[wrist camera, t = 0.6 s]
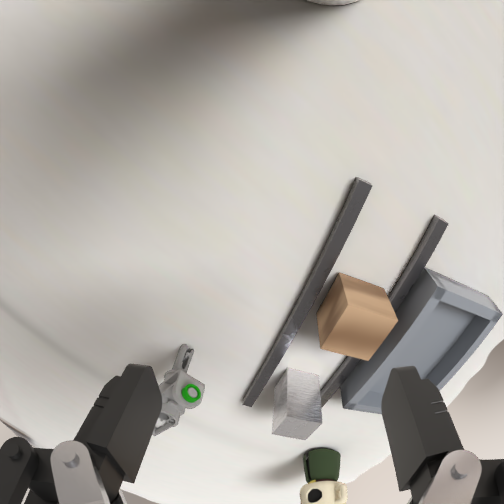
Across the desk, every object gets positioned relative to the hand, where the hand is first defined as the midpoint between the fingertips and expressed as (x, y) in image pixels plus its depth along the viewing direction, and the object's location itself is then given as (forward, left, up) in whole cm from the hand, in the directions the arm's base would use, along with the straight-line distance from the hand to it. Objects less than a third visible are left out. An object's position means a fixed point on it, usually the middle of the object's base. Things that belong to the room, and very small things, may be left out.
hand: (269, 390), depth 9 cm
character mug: (+36, +22, -19) cm, 46 cm away
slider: (+6, +10, -18) cm, 21 cm away
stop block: (+19, +10, -18) cm, 28 cm away
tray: (+9, +21, -18) cm, 29 cm away
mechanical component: (+19, -4, -19) cm, 27 cm away
